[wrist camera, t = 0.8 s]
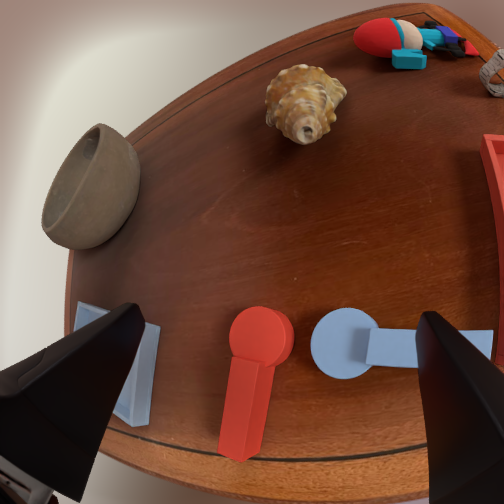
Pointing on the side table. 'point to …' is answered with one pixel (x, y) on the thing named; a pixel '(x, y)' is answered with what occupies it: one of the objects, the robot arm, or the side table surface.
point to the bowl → (92, 190)
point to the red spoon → (252, 378)
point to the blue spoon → (370, 344)
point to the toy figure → (408, 41)
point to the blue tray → (141, 374)
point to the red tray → (496, 214)
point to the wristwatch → (493, 73)
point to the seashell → (303, 103)
